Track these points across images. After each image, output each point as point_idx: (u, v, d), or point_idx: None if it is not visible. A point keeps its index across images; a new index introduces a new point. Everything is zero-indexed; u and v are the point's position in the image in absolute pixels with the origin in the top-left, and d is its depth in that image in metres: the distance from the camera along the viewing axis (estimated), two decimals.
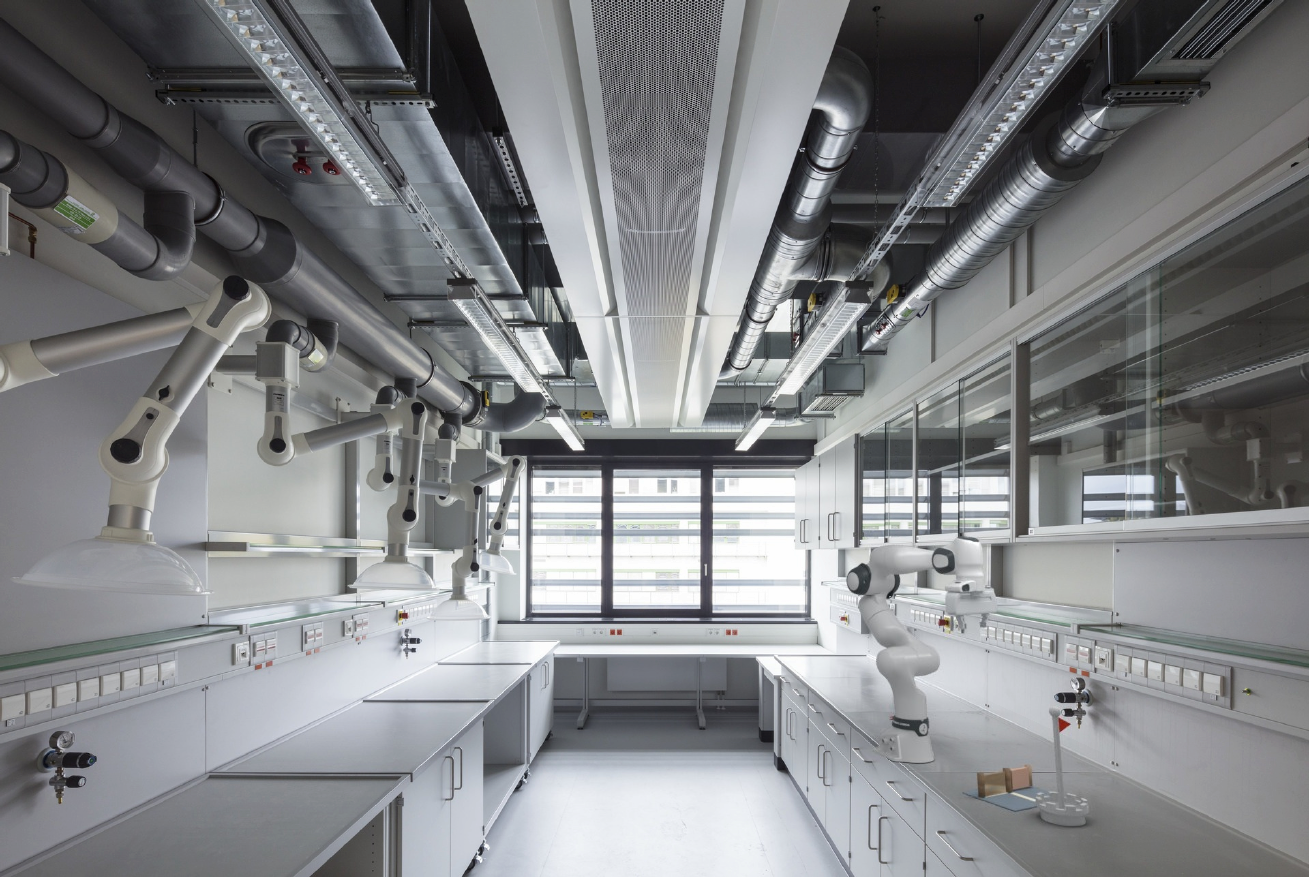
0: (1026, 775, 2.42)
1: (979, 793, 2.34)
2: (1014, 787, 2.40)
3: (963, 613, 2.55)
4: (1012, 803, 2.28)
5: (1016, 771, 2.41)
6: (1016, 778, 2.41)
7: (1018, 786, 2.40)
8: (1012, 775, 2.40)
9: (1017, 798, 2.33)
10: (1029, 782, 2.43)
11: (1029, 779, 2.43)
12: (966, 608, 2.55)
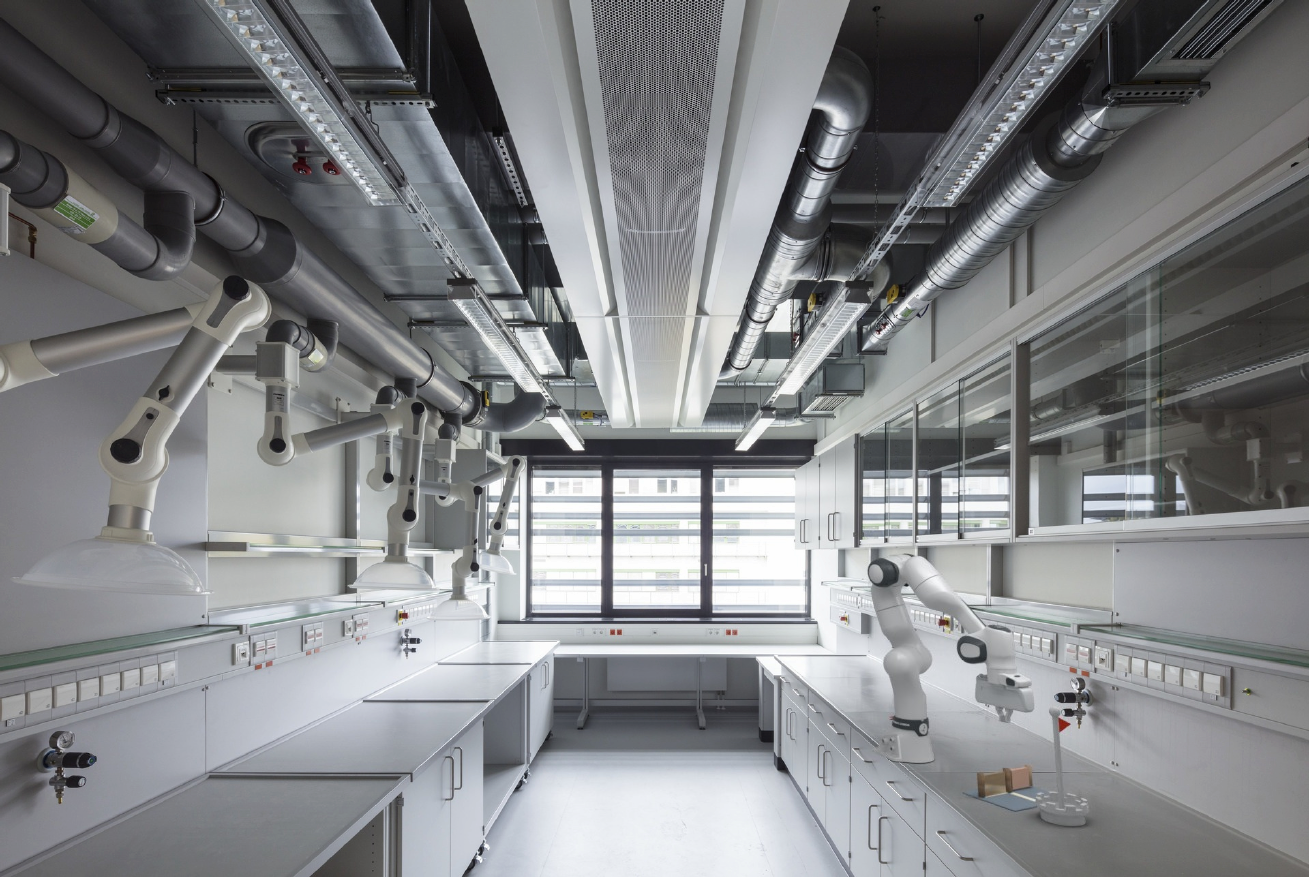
0: (1026, 775, 2.42)
1: (979, 793, 2.34)
2: (1014, 787, 2.40)
3: None
4: (1012, 803, 2.28)
5: (1016, 771, 2.41)
6: (1016, 778, 2.41)
7: (1018, 786, 2.40)
8: (1012, 775, 2.40)
9: (1017, 798, 2.33)
10: (1029, 782, 2.43)
11: (1029, 779, 2.43)
12: None
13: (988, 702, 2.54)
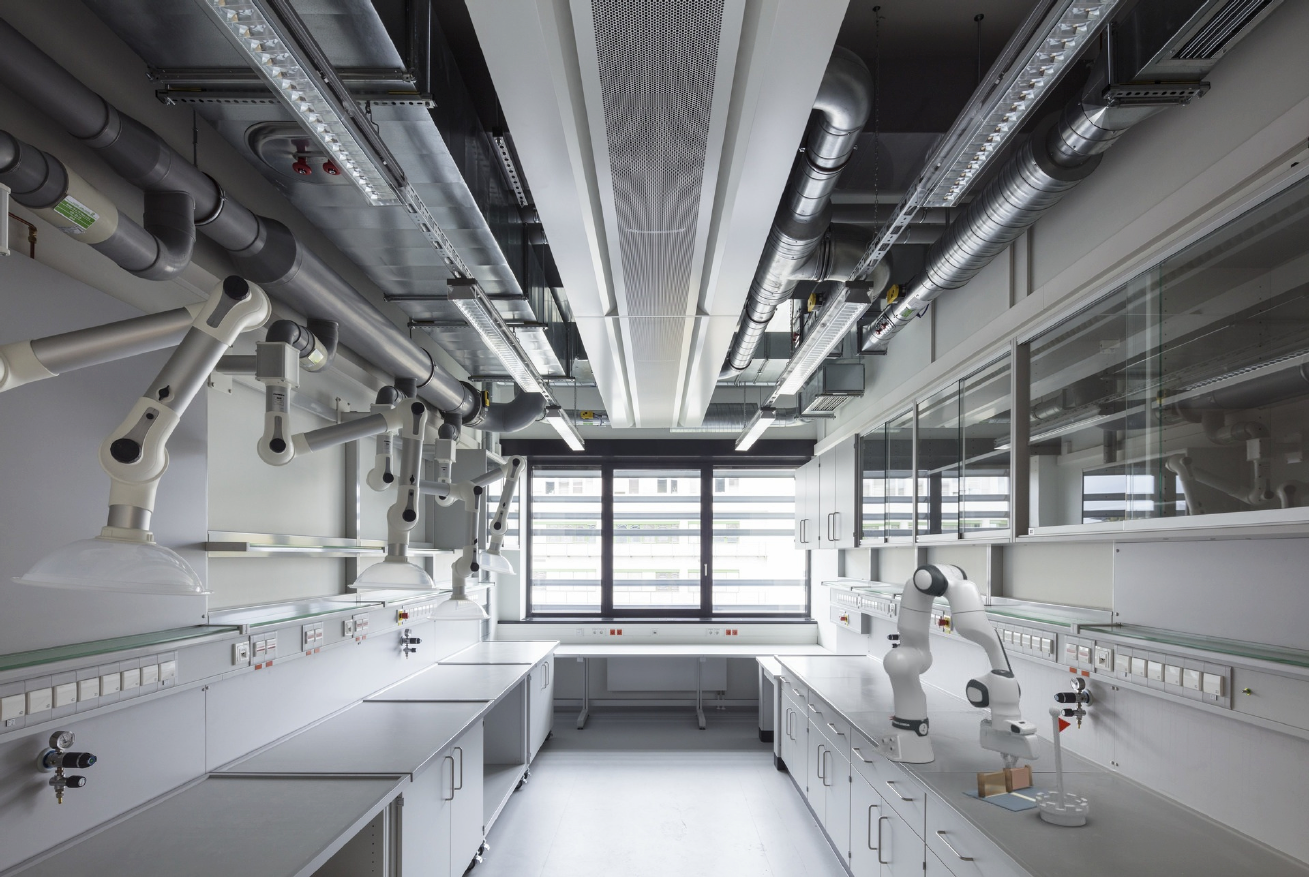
0: (1026, 775, 2.42)
1: (979, 793, 2.34)
2: (1014, 787, 2.40)
3: None
4: (1012, 803, 2.28)
5: (1016, 771, 2.41)
6: (1016, 778, 2.41)
7: (1018, 786, 2.40)
8: (1012, 775, 2.40)
9: (1017, 798, 2.33)
10: (1029, 782, 2.43)
11: (1029, 779, 2.43)
12: None
13: (993, 748, 2.51)
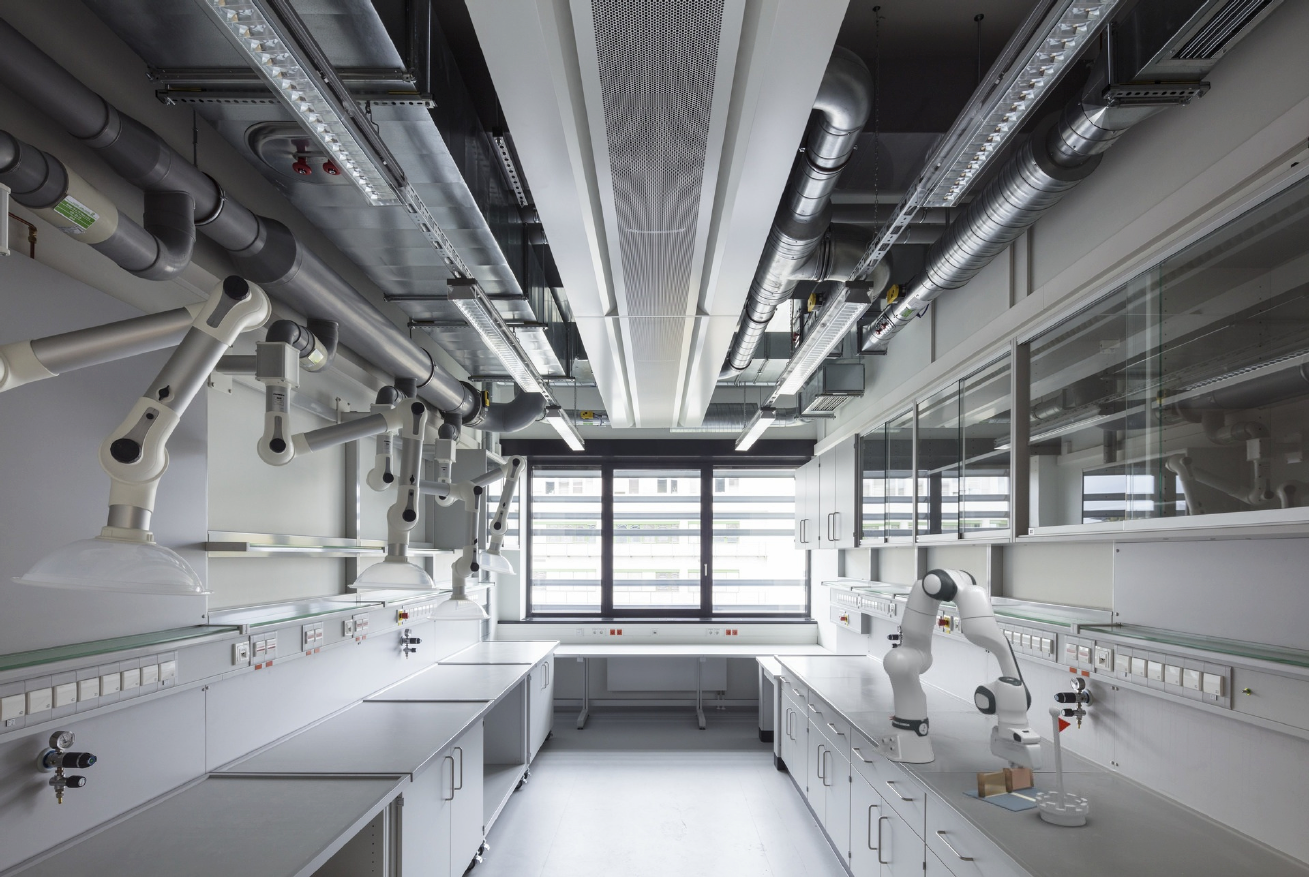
0: (1027, 775, 2.42)
1: (979, 793, 2.34)
2: (1014, 787, 2.40)
3: None
4: (1012, 803, 2.28)
5: (1016, 771, 2.41)
6: (1016, 778, 2.40)
7: (1019, 786, 2.40)
8: (1012, 775, 2.40)
9: (1017, 798, 2.33)
10: (1030, 782, 2.42)
11: (1030, 779, 2.42)
12: None
13: (1001, 755, 2.49)
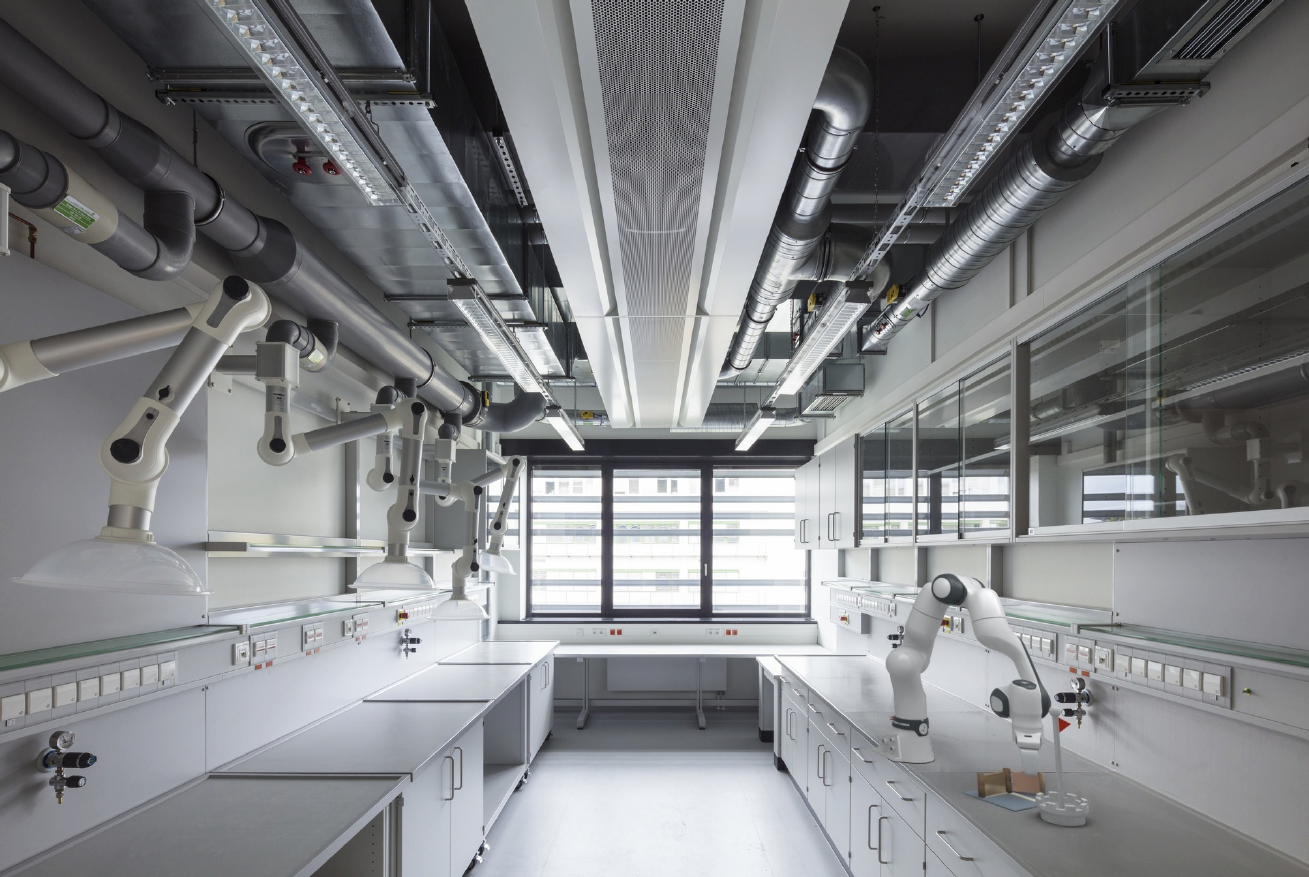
0: (1035, 781, 2.36)
1: (979, 793, 2.34)
2: (1015, 789, 2.38)
3: None
4: (1012, 803, 2.28)
5: (1019, 774, 2.38)
6: (1019, 781, 2.38)
7: (1022, 790, 2.37)
8: (1013, 776, 2.39)
9: (1017, 798, 2.33)
10: (1040, 789, 2.35)
11: (1040, 786, 2.35)
12: None
13: None
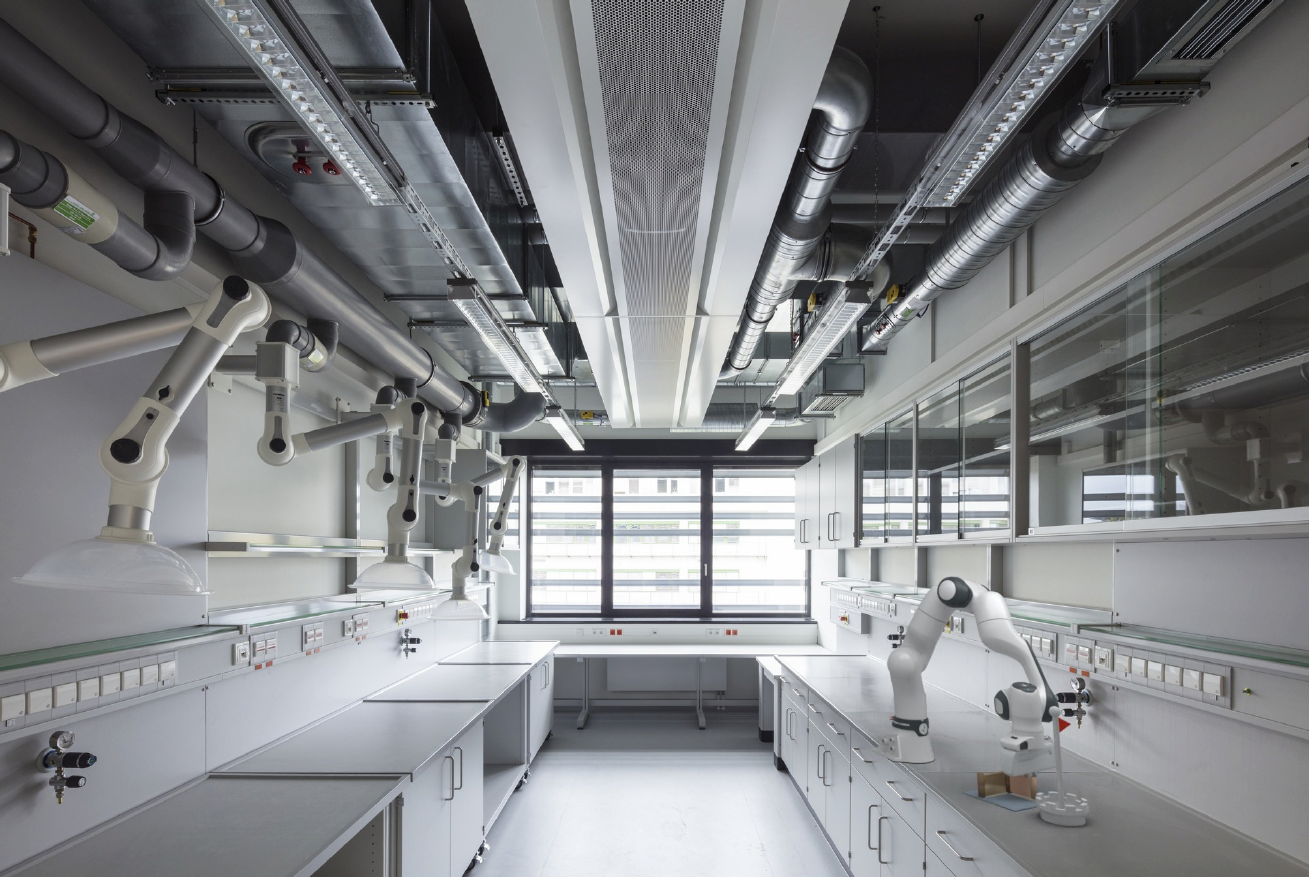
0: (1027, 785, 2.32)
1: (979, 793, 2.34)
2: (1012, 790, 2.37)
3: (1021, 773, 2.31)
4: (1012, 803, 2.28)
5: None
6: (1014, 782, 2.36)
7: (1017, 791, 2.35)
8: (1010, 777, 2.38)
9: (1017, 798, 2.33)
10: (1031, 794, 2.31)
11: (1031, 790, 2.31)
12: (1024, 767, 2.32)
13: None
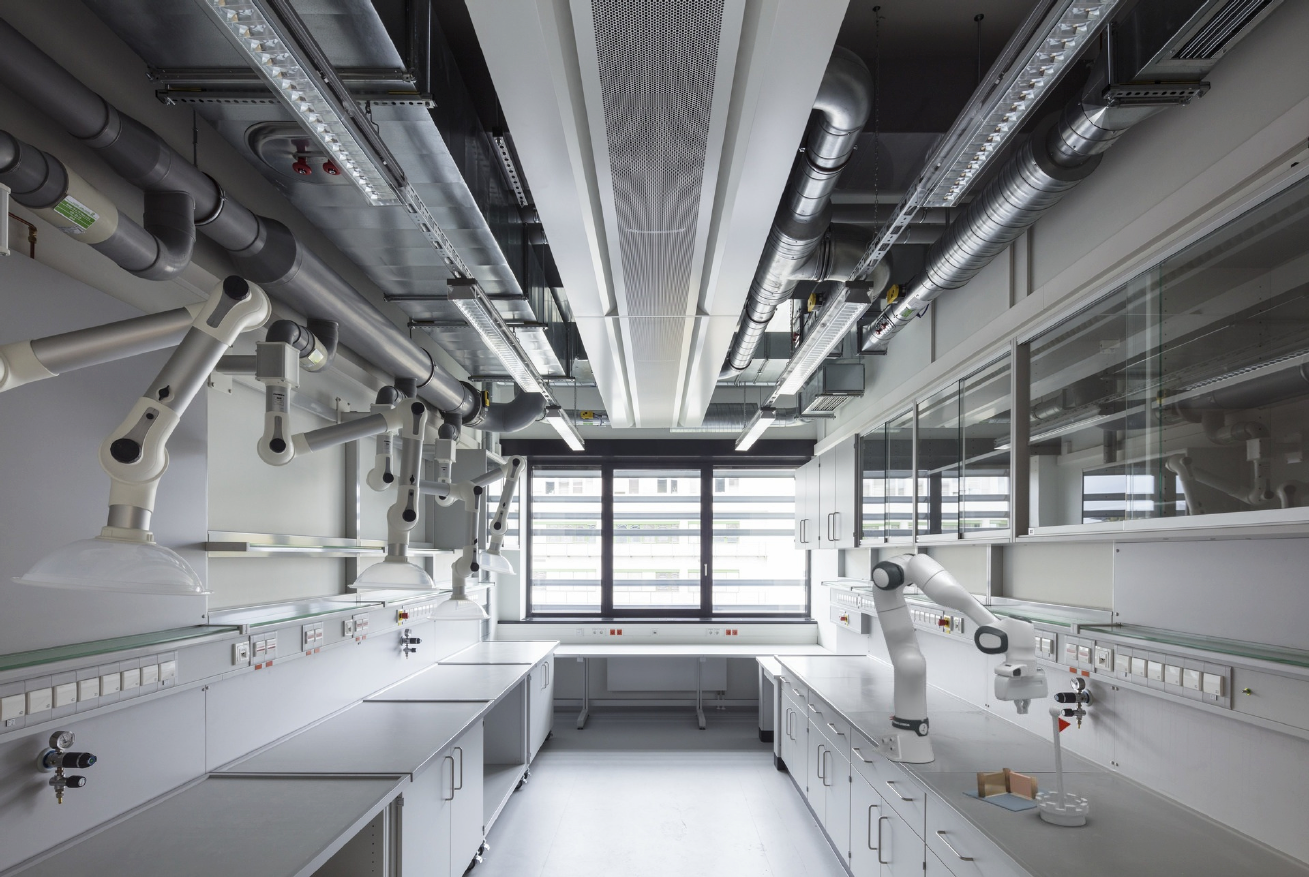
0: (1027, 785, 2.32)
1: (979, 793, 2.34)
2: (1012, 790, 2.37)
3: (1013, 698, 2.43)
4: (1012, 803, 2.28)
5: (1015, 775, 2.36)
6: (1015, 782, 2.36)
7: (1017, 791, 2.35)
8: (1010, 777, 2.38)
9: (1017, 798, 2.33)
10: (1031, 793, 2.31)
11: (1031, 790, 2.31)
12: (1016, 693, 2.43)
13: None
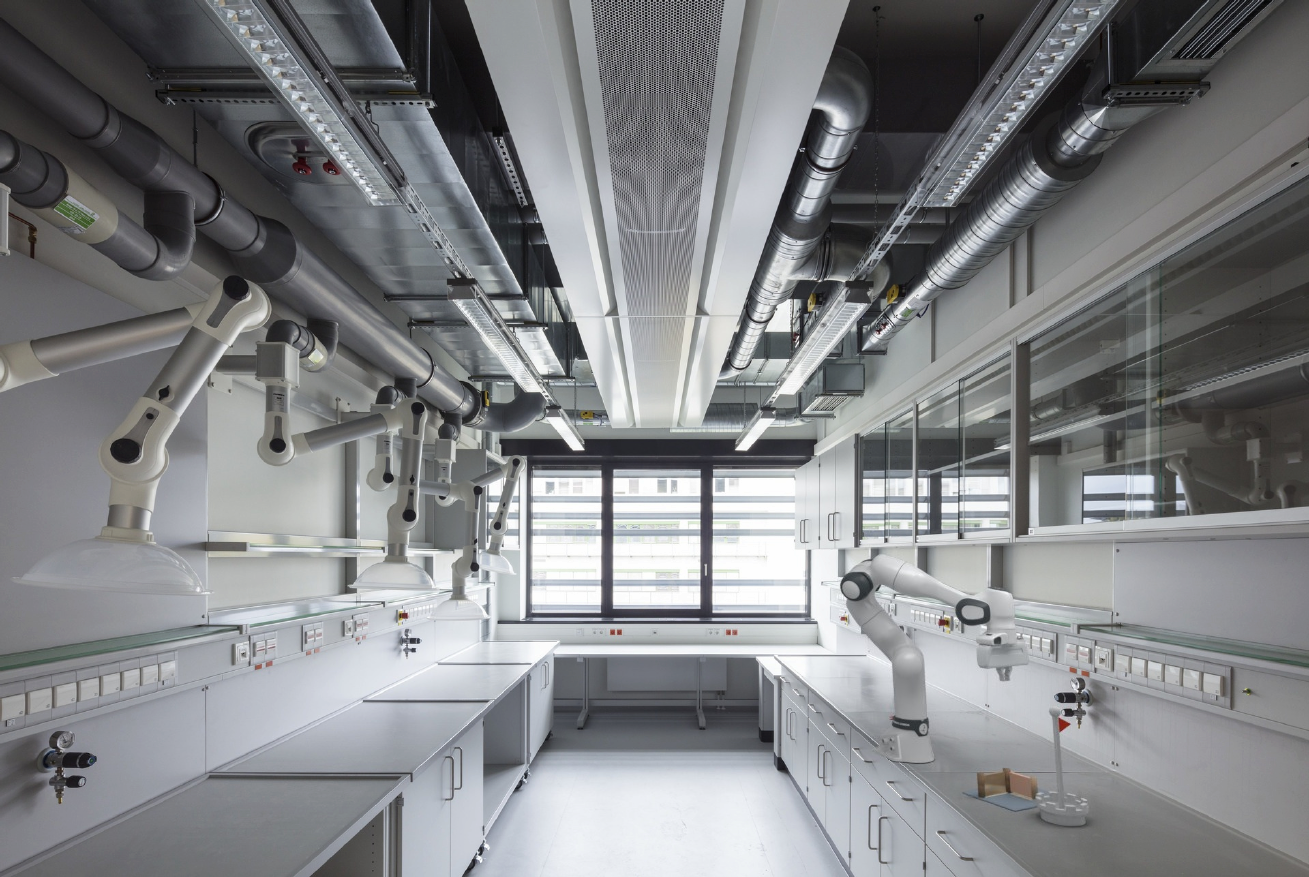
0: (1027, 785, 2.32)
1: (979, 793, 2.34)
2: (1012, 790, 2.37)
3: (995, 666, 2.52)
4: (1012, 803, 2.28)
5: (1015, 775, 2.36)
6: (1015, 782, 2.36)
7: (1017, 791, 2.35)
8: (1010, 777, 2.38)
9: (1017, 798, 2.33)
10: (1031, 793, 2.31)
11: (1031, 790, 2.31)
12: (997, 660, 2.53)
13: None
